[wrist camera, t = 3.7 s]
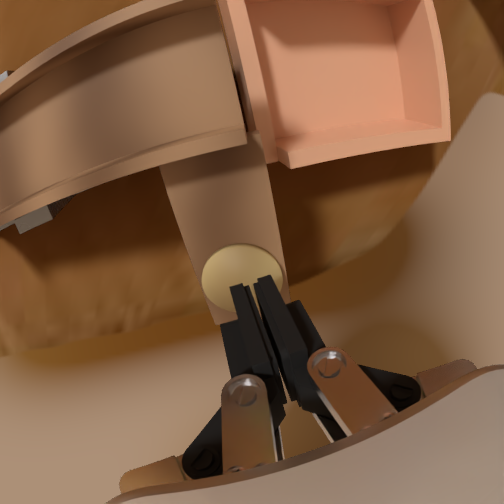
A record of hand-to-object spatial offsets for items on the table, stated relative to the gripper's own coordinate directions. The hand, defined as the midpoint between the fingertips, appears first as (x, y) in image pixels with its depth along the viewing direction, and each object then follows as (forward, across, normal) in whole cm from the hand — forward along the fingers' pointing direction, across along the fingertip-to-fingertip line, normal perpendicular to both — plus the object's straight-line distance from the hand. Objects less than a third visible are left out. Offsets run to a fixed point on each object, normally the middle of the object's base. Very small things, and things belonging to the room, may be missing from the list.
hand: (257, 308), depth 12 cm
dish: (+11, -10, -9) cm, 18 cm away
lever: (+5, +9, -5) cm, 11 cm away
